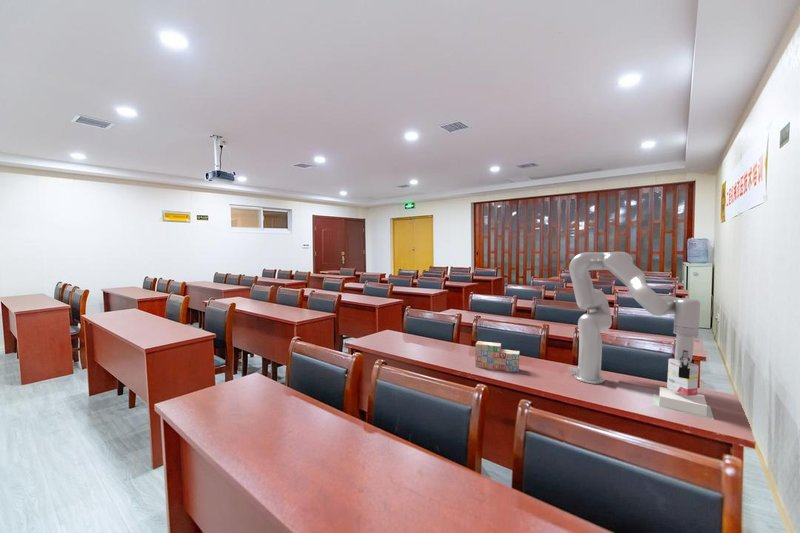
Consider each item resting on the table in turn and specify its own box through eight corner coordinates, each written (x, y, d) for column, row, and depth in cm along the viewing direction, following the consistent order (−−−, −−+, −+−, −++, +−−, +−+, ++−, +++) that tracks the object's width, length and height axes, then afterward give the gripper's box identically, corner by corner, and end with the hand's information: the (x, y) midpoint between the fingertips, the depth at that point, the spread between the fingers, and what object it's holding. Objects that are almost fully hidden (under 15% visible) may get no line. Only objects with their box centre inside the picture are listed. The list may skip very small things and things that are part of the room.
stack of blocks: (519, 369, 182) (520, 345, 181) (518, 373, 176) (519, 348, 175) (477, 363, 190) (477, 340, 189) (474, 366, 184) (475, 343, 183)
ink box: (698, 395, 135) (699, 364, 134) (687, 396, 134) (689, 365, 133) (676, 386, 144) (678, 357, 143) (666, 387, 143) (667, 358, 142)
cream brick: (659, 406, 138) (659, 396, 138) (659, 396, 148) (659, 386, 148) (706, 416, 130) (707, 406, 130) (703, 405, 140) (704, 395, 140)
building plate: (652, 408, 139) (652, 405, 139) (653, 396, 150) (653, 394, 150) (713, 422, 128) (714, 419, 128) (709, 408, 139) (709, 405, 139)
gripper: (673, 325, 147) (670, 366, 148) (674, 333, 133) (671, 378, 134) (696, 328, 142) (694, 370, 143) (700, 336, 128) (697, 383, 129)
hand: (683, 374), depth 138 cm, fingers closed on ink box, 9 cm apart
